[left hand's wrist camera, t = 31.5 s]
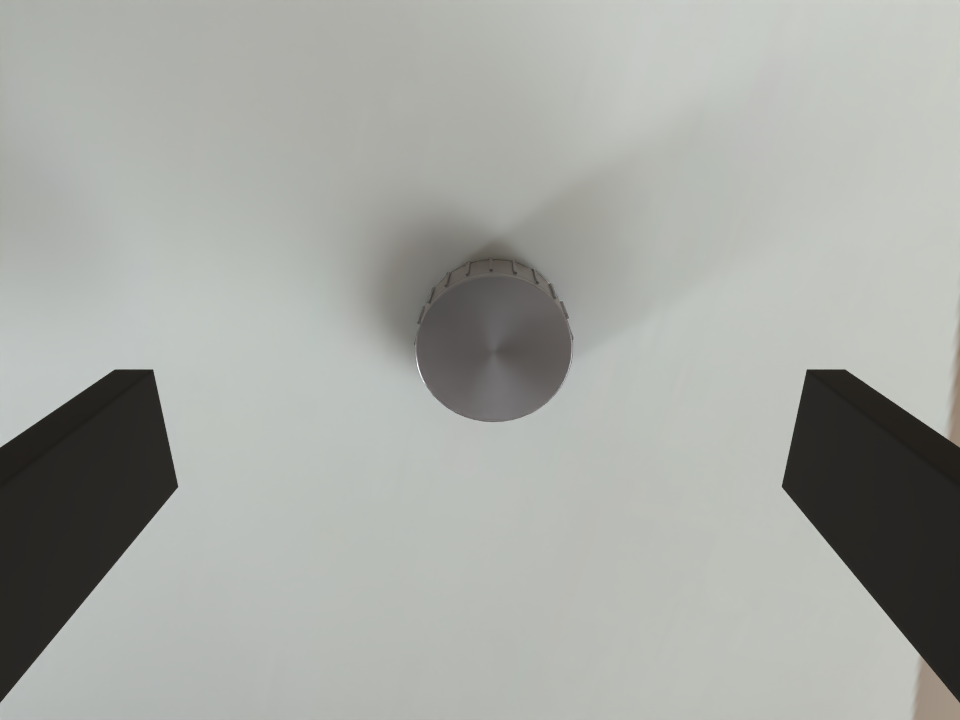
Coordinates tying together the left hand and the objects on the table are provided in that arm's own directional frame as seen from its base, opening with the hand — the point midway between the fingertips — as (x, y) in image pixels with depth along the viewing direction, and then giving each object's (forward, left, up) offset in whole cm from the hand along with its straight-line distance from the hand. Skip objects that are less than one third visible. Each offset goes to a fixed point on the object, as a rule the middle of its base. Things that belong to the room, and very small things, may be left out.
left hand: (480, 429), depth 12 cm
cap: (0, 0, -4) cm, 4 cm away
